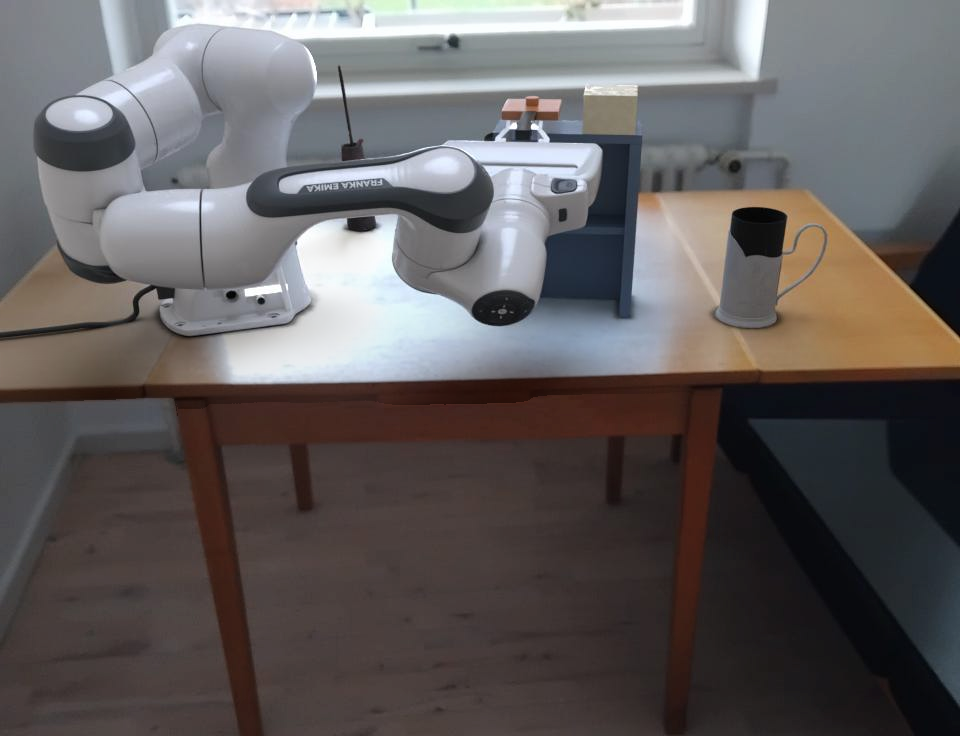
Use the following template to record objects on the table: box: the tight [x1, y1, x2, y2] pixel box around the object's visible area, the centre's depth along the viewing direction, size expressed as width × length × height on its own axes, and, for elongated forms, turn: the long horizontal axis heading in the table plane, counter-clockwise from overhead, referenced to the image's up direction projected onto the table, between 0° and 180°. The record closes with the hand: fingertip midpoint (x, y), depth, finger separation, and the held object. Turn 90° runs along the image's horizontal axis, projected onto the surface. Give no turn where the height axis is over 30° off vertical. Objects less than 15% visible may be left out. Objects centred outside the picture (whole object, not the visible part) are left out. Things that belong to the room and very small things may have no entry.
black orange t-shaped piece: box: [500, 95, 563, 140], centre depth 134 cm, size 18×8×2 cm, turn 173°
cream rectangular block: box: [582, 83, 639, 135], centre depth 138 cm, size 7×7×5 cm
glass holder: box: [715, 206, 828, 329], centre depth 145 cm, size 9×14×15 cm, turn 88°
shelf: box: [493, 118, 644, 319], centre depth 147 cm, size 8×20×26 cm, turn 82°
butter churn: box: [337, 64, 378, 232], centre depth 180 cm, size 9×10×28 cm
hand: (525, 124), depth 130 cm, fingers closed on black orange t-shaped piece, 2 cm apart
